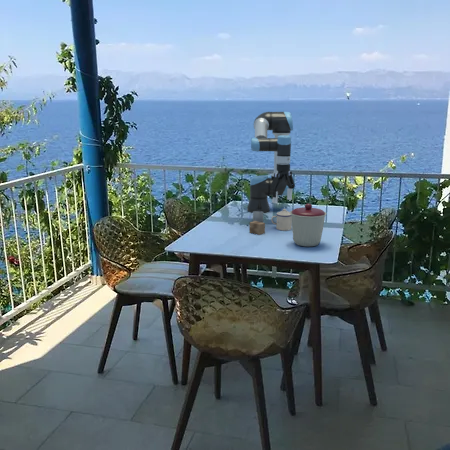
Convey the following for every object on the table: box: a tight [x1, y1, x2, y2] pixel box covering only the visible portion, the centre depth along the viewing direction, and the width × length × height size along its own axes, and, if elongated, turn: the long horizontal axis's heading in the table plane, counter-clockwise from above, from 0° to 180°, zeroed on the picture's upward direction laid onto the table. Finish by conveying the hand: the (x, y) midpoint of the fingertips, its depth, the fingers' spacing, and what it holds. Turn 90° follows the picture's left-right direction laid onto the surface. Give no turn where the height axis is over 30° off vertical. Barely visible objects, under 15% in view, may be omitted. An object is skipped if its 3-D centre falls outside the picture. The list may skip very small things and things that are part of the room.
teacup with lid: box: [271, 208, 292, 232], centre depth 269 cm, size 12×9×12 cm
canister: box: [289, 203, 327, 247], centre depth 238 cm, size 18×18×21 cm
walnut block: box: [248, 220, 266, 236], centre depth 261 cm, size 7×5×6 cm
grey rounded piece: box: [252, 211, 264, 223], centre depth 278 cm, size 6×6×8 cm
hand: (282, 201), depth 266 cm, fingers open, 13 cm apart
